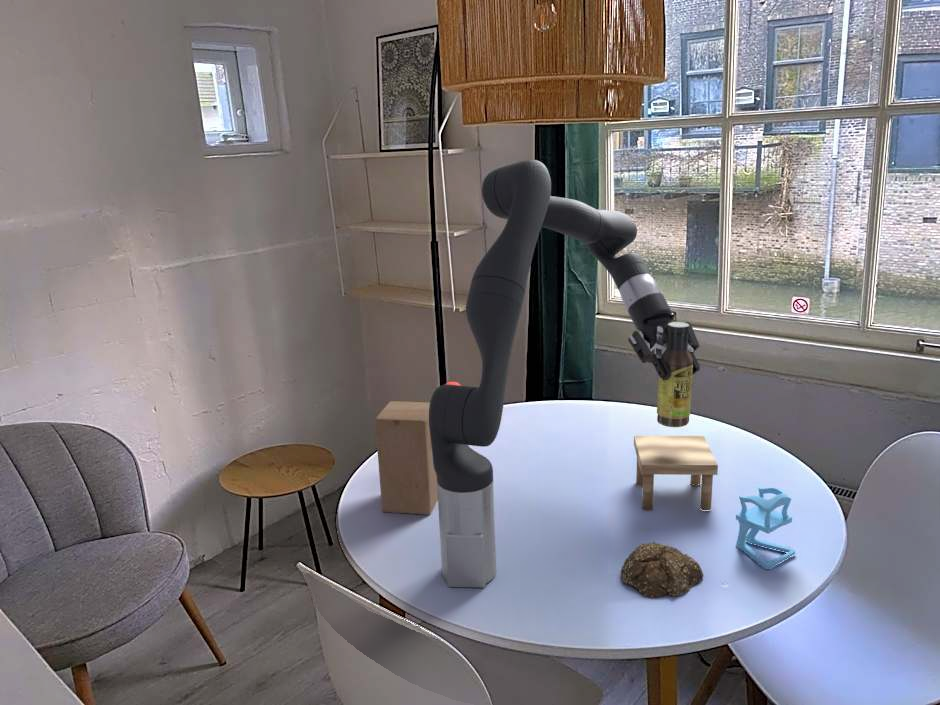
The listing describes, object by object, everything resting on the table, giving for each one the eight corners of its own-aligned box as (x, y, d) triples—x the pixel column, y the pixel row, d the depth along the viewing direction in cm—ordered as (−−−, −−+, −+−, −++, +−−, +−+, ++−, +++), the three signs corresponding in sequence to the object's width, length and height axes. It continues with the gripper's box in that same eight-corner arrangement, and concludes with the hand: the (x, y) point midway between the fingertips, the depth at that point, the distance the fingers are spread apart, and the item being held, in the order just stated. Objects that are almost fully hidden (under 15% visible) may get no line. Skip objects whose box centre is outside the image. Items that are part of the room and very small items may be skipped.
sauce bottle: (675, 432, 148) (679, 330, 142) (649, 422, 152) (652, 324, 146) (697, 423, 151) (701, 324, 145) (671, 414, 156) (674, 318, 150)
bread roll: (646, 549, 138) (647, 524, 136) (711, 574, 130) (712, 548, 128) (604, 580, 129) (605, 554, 128) (671, 610, 121) (672, 582, 119)
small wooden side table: (715, 513, 149) (717, 465, 146) (640, 512, 150) (641, 464, 147) (701, 480, 162) (703, 435, 159) (633, 479, 163) (634, 435, 161)
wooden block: (430, 516, 152) (424, 420, 146) (381, 512, 154) (374, 418, 148) (442, 492, 161) (437, 401, 156) (396, 489, 163) (389, 400, 158)
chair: (755, 536, 140) (758, 475, 137) (796, 555, 133) (801, 492, 130) (726, 550, 136) (730, 487, 133) (767, 570, 129) (772, 505, 126)
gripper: (623, 296, 148) (661, 372, 141) (683, 287, 154) (722, 359, 147) (606, 317, 154) (642, 391, 147) (664, 307, 160) (701, 378, 153)
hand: (681, 375), depth 147 cm, fingers closed on sauce bottle, 6 cm apart
